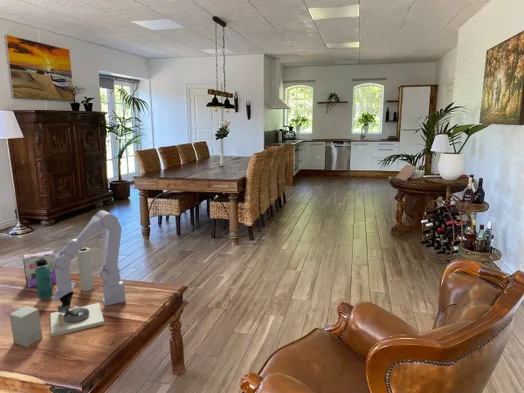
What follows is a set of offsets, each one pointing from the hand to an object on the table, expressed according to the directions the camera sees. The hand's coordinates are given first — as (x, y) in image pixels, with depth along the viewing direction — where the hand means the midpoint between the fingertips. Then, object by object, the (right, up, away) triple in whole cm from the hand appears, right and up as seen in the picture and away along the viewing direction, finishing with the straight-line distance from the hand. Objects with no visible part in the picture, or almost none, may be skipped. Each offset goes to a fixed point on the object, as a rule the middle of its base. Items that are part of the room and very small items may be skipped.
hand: (67, 308), depth 168 cm
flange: (+4, -2, -3) cm, 6 cm away
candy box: (-30, +4, +33) cm, 44 cm away
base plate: (+6, -4, -3) cm, 8 cm away
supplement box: (-6, -8, -17) cm, 20 cm away
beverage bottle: (-18, 0, +15) cm, 24 cm away
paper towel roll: (-3, +2, +27) cm, 27 cm away
